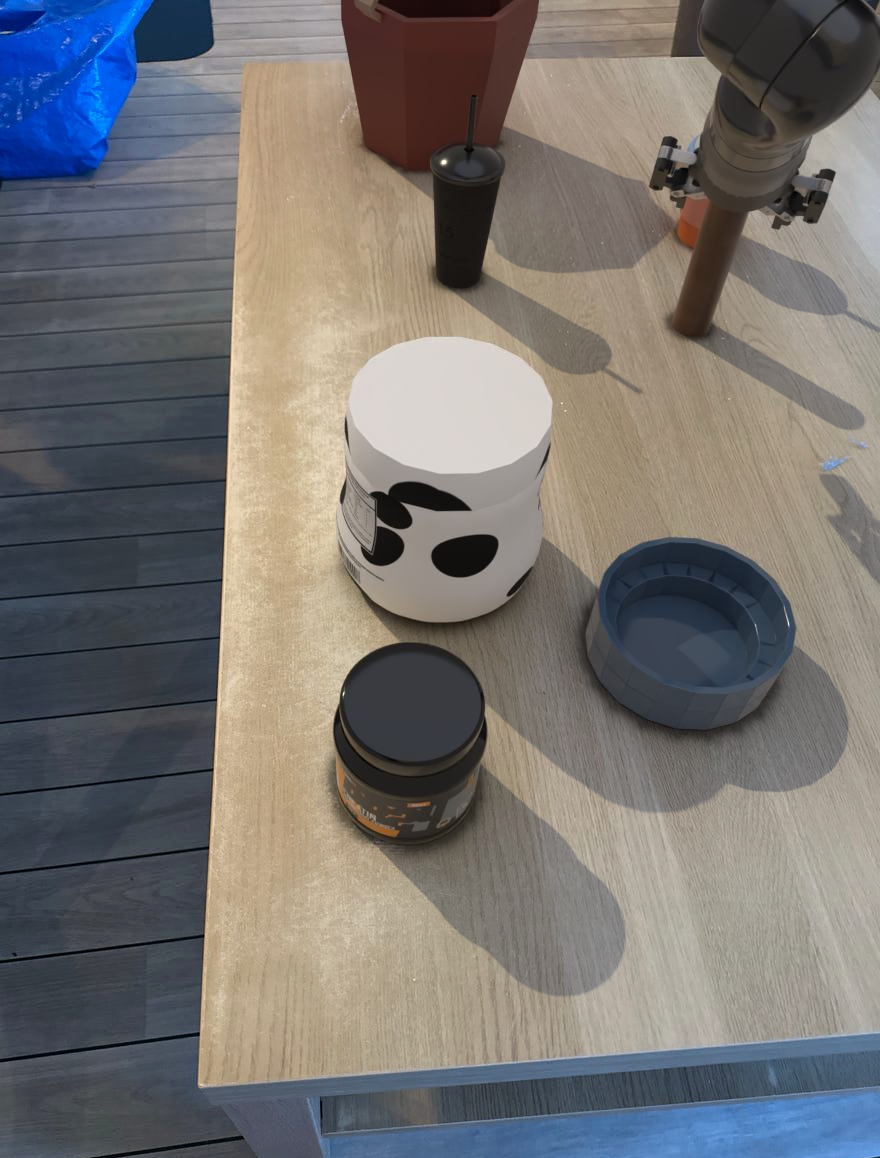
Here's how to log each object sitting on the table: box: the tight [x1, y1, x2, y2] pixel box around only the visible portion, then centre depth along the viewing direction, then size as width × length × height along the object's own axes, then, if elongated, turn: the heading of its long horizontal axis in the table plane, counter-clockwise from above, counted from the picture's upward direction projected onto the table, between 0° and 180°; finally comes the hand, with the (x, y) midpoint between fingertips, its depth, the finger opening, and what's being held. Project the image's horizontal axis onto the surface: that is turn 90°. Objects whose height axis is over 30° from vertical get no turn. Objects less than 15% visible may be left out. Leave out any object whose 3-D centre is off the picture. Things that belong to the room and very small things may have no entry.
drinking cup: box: [430, 94, 507, 290], centre depth 103 cm, size 8×8×20 cm
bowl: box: [584, 536, 797, 731], centre depth 79 cm, size 15×15×6 cm
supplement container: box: [332, 641, 489, 845], centre depth 69 cm, size 10×10×12 cm
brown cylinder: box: [671, 200, 750, 338], centre depth 101 cm, size 4×4×15 cm
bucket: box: [340, 0, 540, 172], centre depth 117 cm, size 24×22×25 cm
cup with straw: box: [677, 133, 709, 249], centre depth 109 cm, size 9×9×18 cm
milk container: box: [335, 336, 554, 624], centre depth 80 cm, size 17×17×18 cm
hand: (730, 207), depth 88 cm, fingers open, 8 cm apart
